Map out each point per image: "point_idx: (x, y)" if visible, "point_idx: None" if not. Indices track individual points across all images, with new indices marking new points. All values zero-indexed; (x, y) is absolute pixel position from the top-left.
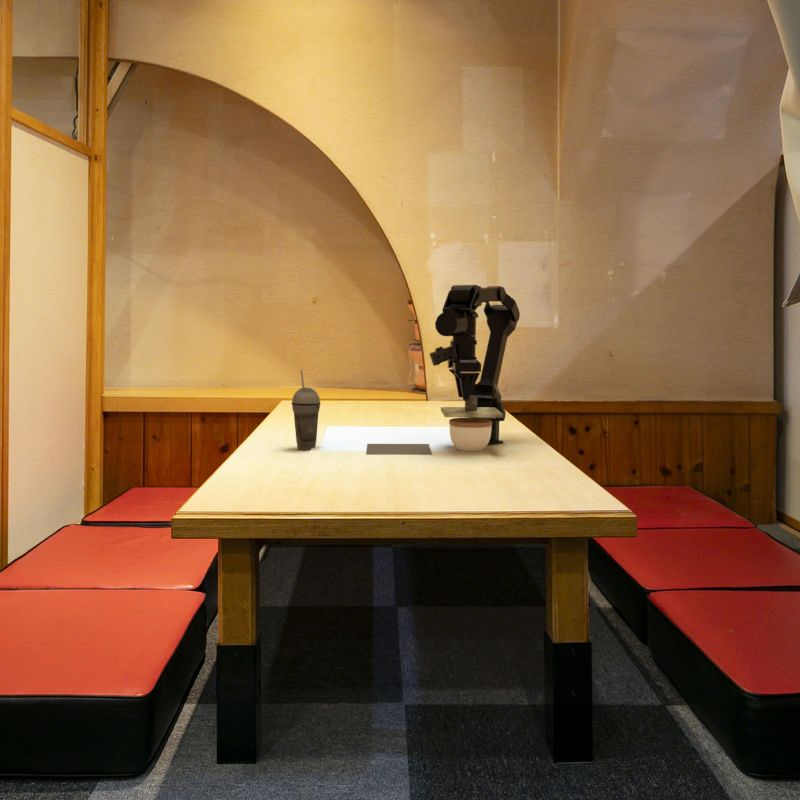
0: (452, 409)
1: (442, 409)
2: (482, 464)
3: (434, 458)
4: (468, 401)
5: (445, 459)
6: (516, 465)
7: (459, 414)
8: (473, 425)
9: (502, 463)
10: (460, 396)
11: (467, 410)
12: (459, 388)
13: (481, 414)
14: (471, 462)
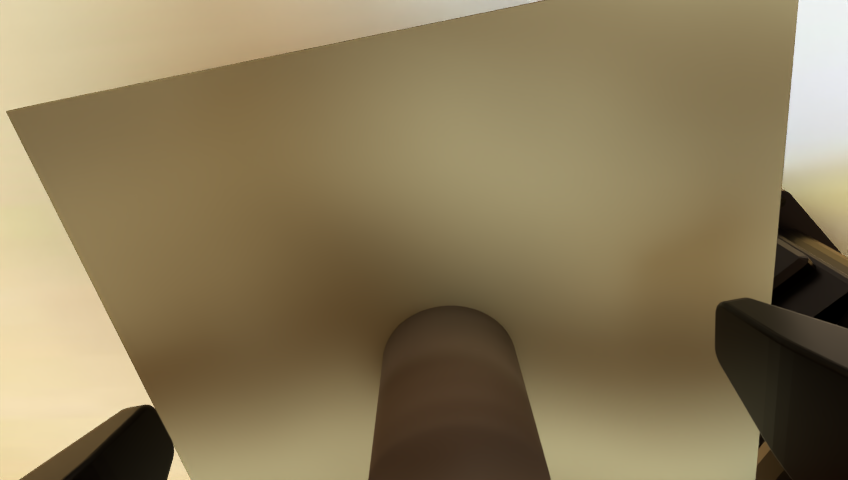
0: (507, 158)
1: (480, 16)
2: (23, 299)
3: (78, 7)
4: (377, 422)
5: (76, 87)
6: (76, 434)
7: (91, 275)
8: None
9: (97, 382)
10: (718, 325)
11: (391, 339)
12: (830, 405)
13: (183, 461)
14: (52, 244)
